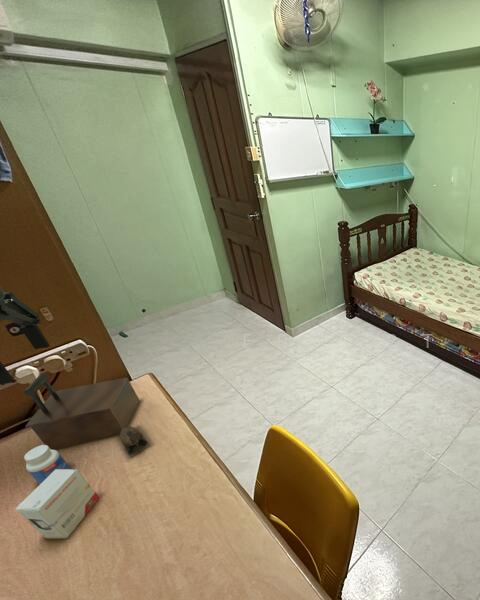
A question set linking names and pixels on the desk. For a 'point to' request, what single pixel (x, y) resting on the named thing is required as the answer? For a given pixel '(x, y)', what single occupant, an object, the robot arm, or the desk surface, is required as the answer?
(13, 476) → the desk surface
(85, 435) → the chest
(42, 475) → the pill bottle
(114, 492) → the desk surface
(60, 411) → the lid
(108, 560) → the desk surface
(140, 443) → the figurine
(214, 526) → the desk surface
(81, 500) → the ink box
